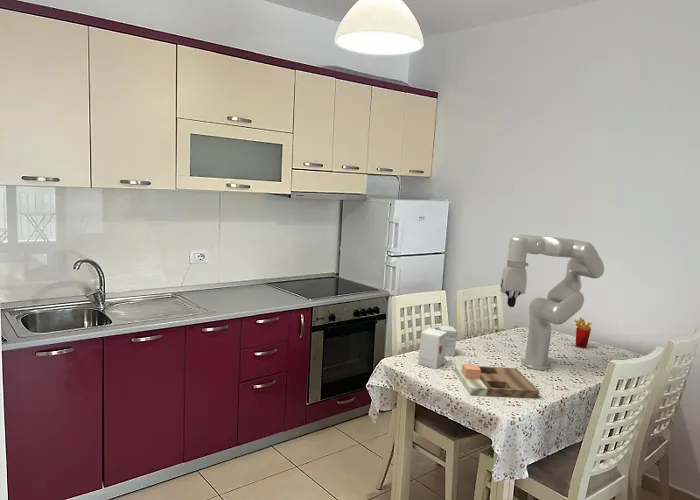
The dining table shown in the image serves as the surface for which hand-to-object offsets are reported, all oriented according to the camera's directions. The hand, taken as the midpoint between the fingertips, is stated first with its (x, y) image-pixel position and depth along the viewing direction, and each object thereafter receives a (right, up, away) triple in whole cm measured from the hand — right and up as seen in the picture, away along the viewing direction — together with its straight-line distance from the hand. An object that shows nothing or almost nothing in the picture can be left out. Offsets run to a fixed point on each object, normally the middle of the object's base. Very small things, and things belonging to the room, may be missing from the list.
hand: (511, 306), depth 225 cm
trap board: (-11, -31, -13) cm, 35 cm away
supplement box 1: (-34, -27, +5) cm, 44 cm away
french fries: (+50, -27, +47) cm, 74 cm away
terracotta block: (-21, -27, -14) cm, 37 cm away
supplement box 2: (-25, -25, +20) cm, 41 cm away
